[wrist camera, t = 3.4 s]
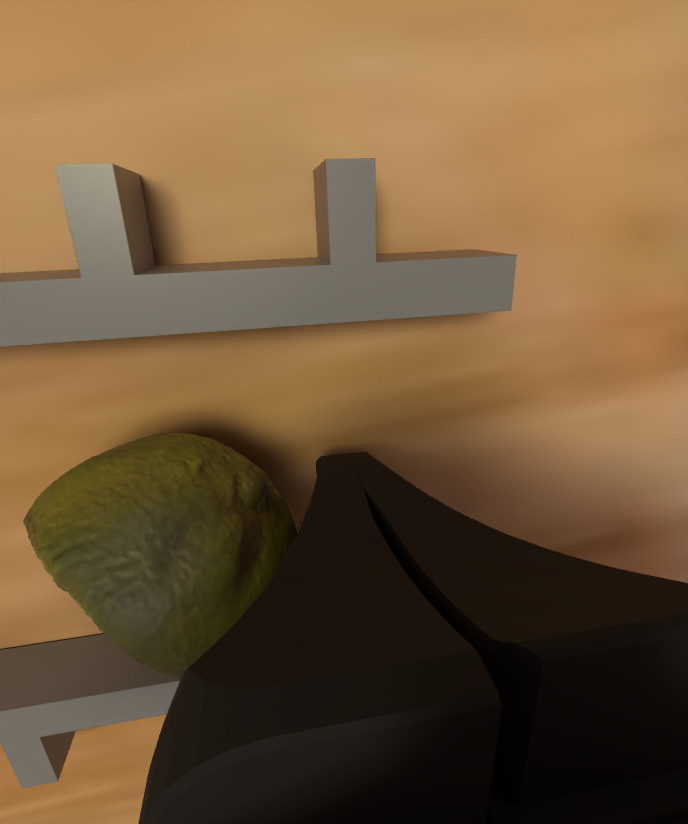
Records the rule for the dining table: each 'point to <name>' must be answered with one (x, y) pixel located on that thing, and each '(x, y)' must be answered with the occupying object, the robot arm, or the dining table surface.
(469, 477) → the dining table surface
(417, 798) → the robot arm
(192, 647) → the lime
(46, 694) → the grey u-shaped block
